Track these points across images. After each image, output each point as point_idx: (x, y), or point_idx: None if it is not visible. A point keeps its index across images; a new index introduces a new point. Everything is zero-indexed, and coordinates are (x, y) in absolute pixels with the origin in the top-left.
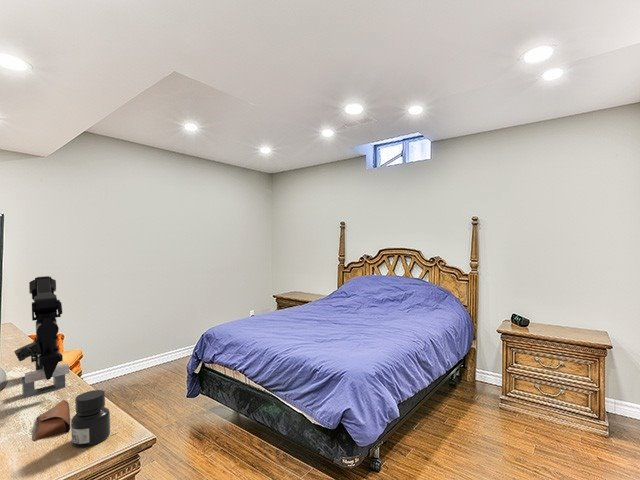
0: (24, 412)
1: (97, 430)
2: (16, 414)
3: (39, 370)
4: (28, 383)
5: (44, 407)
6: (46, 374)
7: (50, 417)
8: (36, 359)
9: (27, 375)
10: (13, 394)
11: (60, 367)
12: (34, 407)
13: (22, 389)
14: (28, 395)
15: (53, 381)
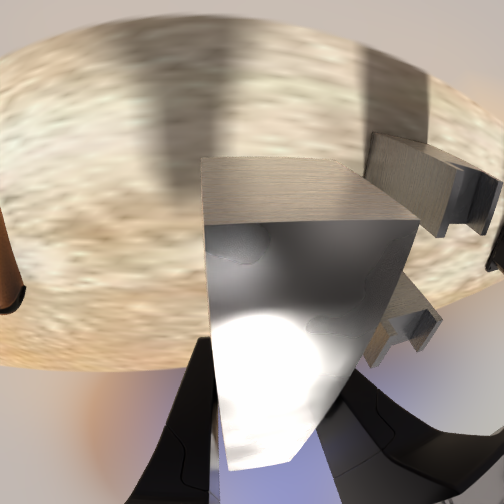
0: (88, 113)
1: None
2: (91, 74)
3: (312, 387)
4: (424, 186)
5: (91, 210)
6: (179, 393)
7: None
8: (450, 493)
9: (209, 251)
10: (453, 118)
11: (227, 458)
12: (131, 161)
13: (443, 151)
14: (373, 155)
15: (406, 278)
